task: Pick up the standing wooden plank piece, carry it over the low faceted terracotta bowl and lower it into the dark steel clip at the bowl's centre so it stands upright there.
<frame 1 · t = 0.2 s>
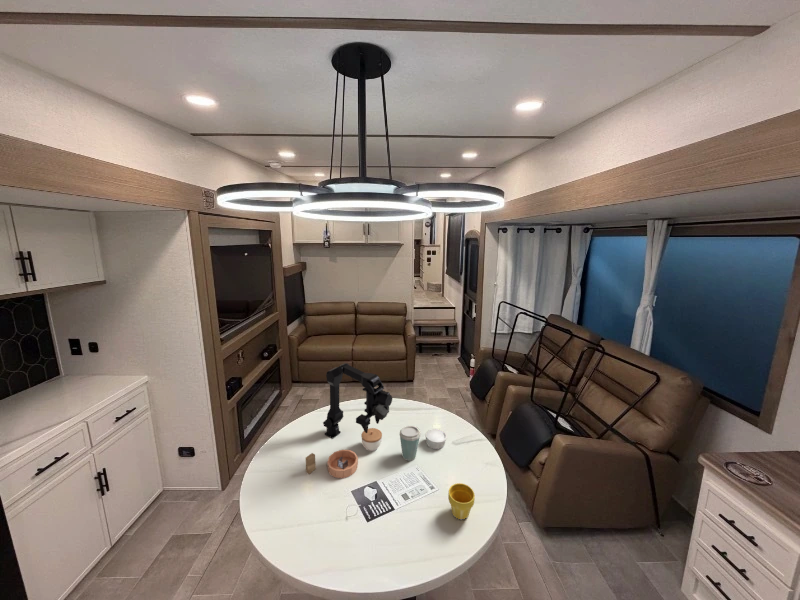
hand: (372, 428, 159), 15 cm above the table, fingers open, 9 cm apart
lidded jar: (371, 447, 166), on the table
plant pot: (460, 513, 129), on the table
disposable coffee cup: (409, 456, 160), on the table
faceted terracotta bowl: (342, 467, 152), on the table
wooden plank piece: (311, 470, 150), on the table
clip: (342, 463, 152), in the faceted terracotta bowl, point 2 cm above the table
ramekin: (435, 444, 170), on the table
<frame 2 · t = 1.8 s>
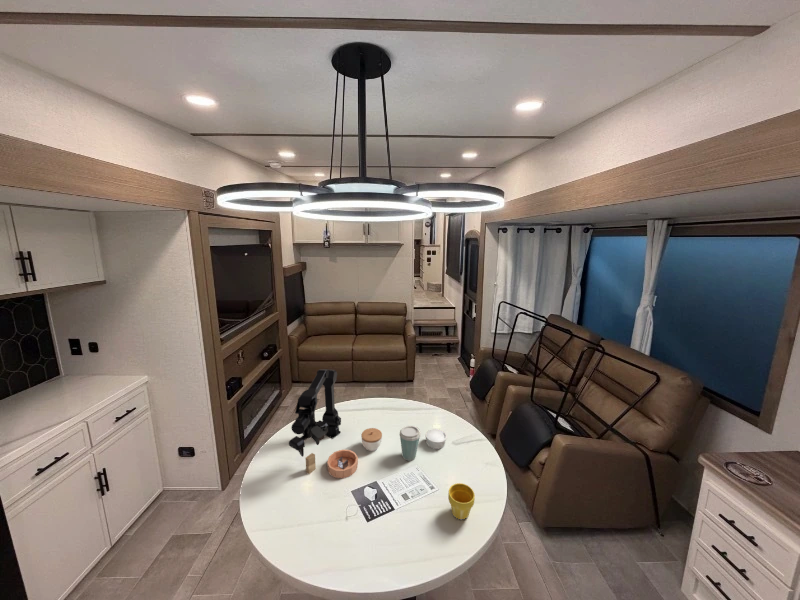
hand: (310, 450, 147), 11 cm above the table, fingers open, 9 cm apart
nothing on the table moved.
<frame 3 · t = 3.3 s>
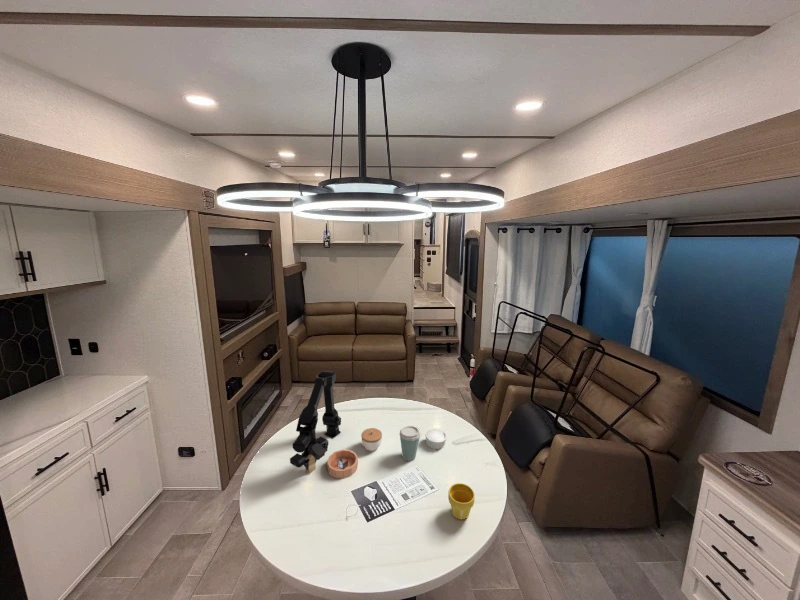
hand: (310, 466, 149), 2 cm above the table, fingers closed on wooden plank piece, 4 cm apart
wooden plank piece: (311, 470, 150), on the table, touching gripper
everything else where it was.
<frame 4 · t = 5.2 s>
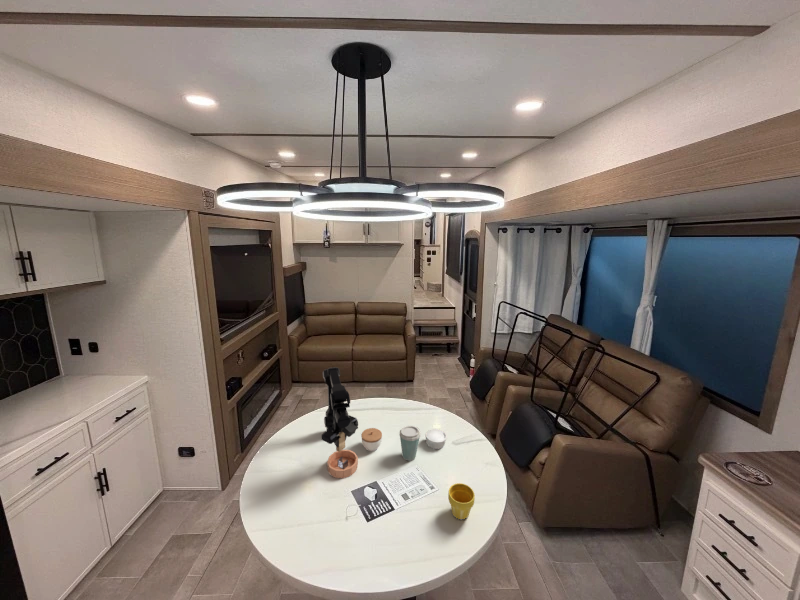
hand: (340, 444, 149), 13 cm above the table, fingers closed on wooden plank piece, 4 cm apart
wooden plank piece: (340, 448, 150), point 10 cm above the table, touching gripper
everything else where it was.
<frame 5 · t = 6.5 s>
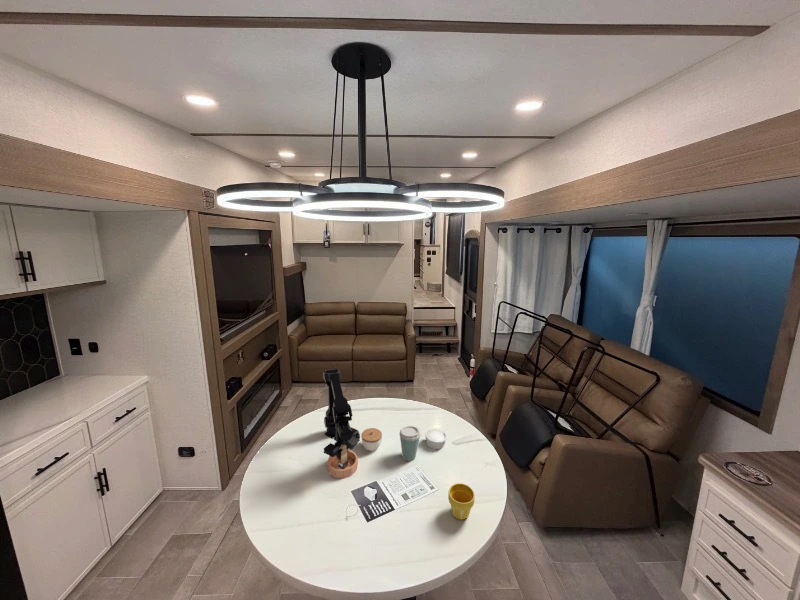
hand: (342, 456, 151), 6 cm above the table, fingers closed on wooden plank piece, 4 cm apart
wooden plank piece: (342, 460, 151), point 3 cm above the table, touching gripper
everything else where it was.
when the fingers open (4 cm above the table, at t = 7.2 s): wooden plank piece stays where it is, resting on clip.
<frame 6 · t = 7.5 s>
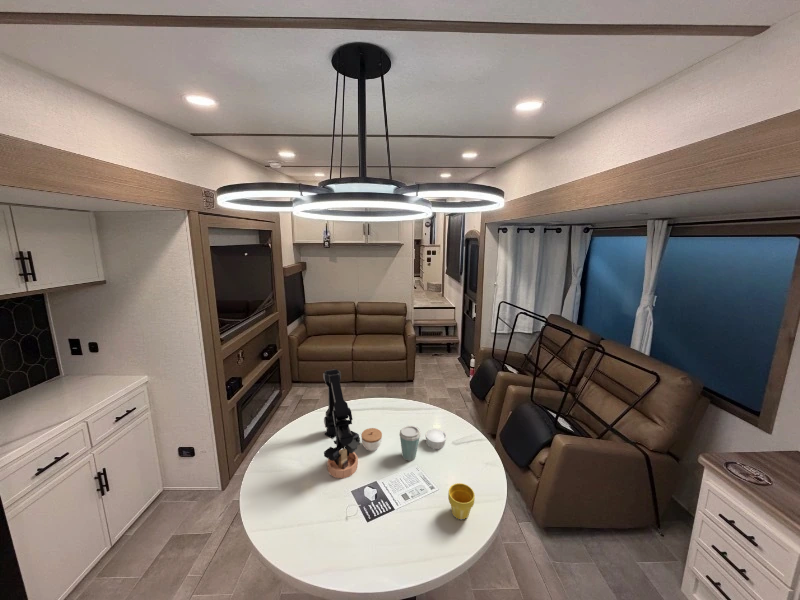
hand: (342, 460, 151), 4 cm above the table, fingers open, 7 cm apart
wooden plank piece: (342, 465, 152), point 1 cm above the table, touching clip
everything else where it was.
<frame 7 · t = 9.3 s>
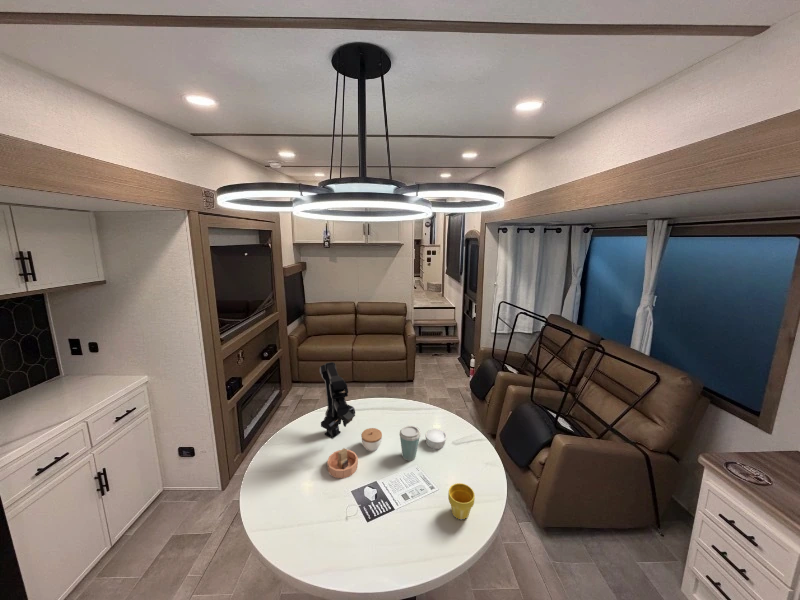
hand: (338, 431, 160), 12 cm above the table, fingers open, 9 cm apart
nothing on the table moved.
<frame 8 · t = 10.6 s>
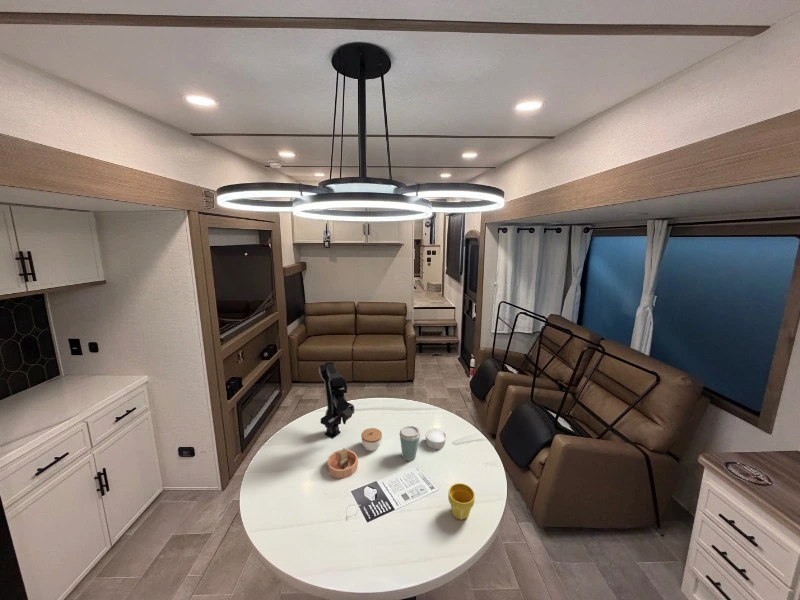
hand: (338, 428, 161), 13 cm above the table, fingers open, 9 cm apart
nothing on the table moved.
at the end: wooden plank piece 0.0 cm off-centre on the clip, point 0.8 cm above the clip's base; wooden plank piece tilted 0°; the gripper is holding nothing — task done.
